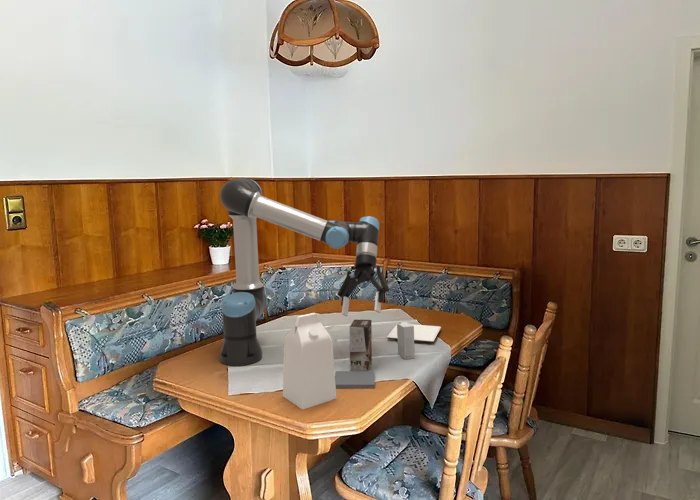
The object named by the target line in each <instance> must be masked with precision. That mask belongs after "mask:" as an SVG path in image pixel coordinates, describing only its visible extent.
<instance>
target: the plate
mask: <svg viewBox="0 0 700 500" xmlns="http://www.w3.org/2000/svg"><path fill="white" fill-rule="evenodd" d="M410 324H411V325H413V326H414V343H415V342H417V343H418V342H419V343H426V344H427V343H434V341H435V340H436V337H437V335H438V334H439V332H440V331H441V329H442V326H438V325H425V324H415V323H414V324H413V323H410ZM386 338H387V339H390V340H395V341H398V339H397V324H395V325H394V327H393V328H392V329H391V331H390V332H389V334H388V335H387V336H386Z"/></svg>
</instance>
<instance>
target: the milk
mask: <svg viewBox="0 0 700 500" xmlns="http://www.w3.org/2000/svg"><path fill="white" fill-rule="evenodd" d="M333 345H334V344H333V340H332V337H331V336H330V334H329V332H328V331H327V329H326V328H325V326H324V325H323V324H322V322H321V320H320V318H319V316H318V314H317V313H316V312H311V313H306V314H301V315H297V317H296V321H295V323H294V326H293V327H292V328H291V329H290V330H289V332H288V333H287V334H286V335H285V337H284V340H283V367H282V368H283V371H282V373H283V374H282V375H283V377H282V378H283V379H282V397H283V398H285V400H287V401H290V403H292V404H294V405H295V406H297V407H298V408H299V409H301V410H305V409H306V410H307V409H308V408H312V407H315V406H318V405H321V404H323V403H327V402H330V401H333V400H336V399H337V388H336V385H335V372H336V371H335V362H334V361H335V359H334V348H333V347H334V346H333Z"/></svg>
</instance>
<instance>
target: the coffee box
mask: <svg viewBox="0 0 700 500" xmlns="http://www.w3.org/2000/svg"><path fill="white" fill-rule="evenodd" d="M372 328H373V327H372V319H353V321H352V322H351V324H350V325H349V371H370V368H371V366H372V364H373V349H372V348H373V347H372V346H373V344H372V343H373V339H372V336H373V335H372V333H373V332H372Z"/></svg>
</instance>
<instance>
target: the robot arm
mask: <svg viewBox="0 0 700 500" xmlns="http://www.w3.org/2000/svg"><path fill="white" fill-rule="evenodd" d="M219 199H220V203H221V204H222V206H223V207H224V208H225V209H226V210H227V212H228V217H230V218H231V219H232V224H233V227H232V228H233V244H234V245H233V246H234V259H235V260H234V262H235V277H236V280H235V283H234V284H233V286H232V293H229V294H227V295H226V296H224V297H223V299H222V301H221V312H222V314H221V315H222V325H223V327H222V328H223V329H222V330H223V342H222V344H221V349H220V354H219V361H220V363H221V364H224V365H225V366H231V367H232V366H235V367H237V366H239V367H240V366H247V365H252V364H254V363H257V362H259V361H261V359H262V358H263V350H262V346H261V345H260V342H259V339H258V337H257V320H258V318H260V316H261V315H263V314H264V312H265V311H266V308H267V305H268V297H267V295H266V293H265V291H264V289H265V288H264V287H265V286H264V283H263V282H261V281H260V269H259V251H258V229H257V227H258V226H257V218H258V219H261V220H263V221H266V222H269V223H270V224H274V225H276V226H279V227H282V228H285V229H287V230H290V231H293V232H296V233H298V234H301V235H303V236H305V237H309V238H311V239H315V240H316V241H319V242H321V243H324V244H327V245H328V246H329V248H332V249H334V250H337V249H343V247H346V245H347V244H348V243H357V244H356V251H355V252H356V253H355V255H356V257H355V261H354V262H355V263H354V266H355V267H354V268H355V270H354V271H351V270H348V271H347V273H346V276H345V278H344V281H343V283H341V284H342V285H341V286H340V288H339V290H338V292H337V296H338V297H340V298H341V302H340V303H341V304H340V306H341V307H342V308H341V315H343V316H345V317H348V316H349V307H350V298H349V297H350V296H351V295H352V293H353V292H354V291H355V289H356V288H357V286H360V284H361V283H363V284H364V283H368V282H371V284H372V285H373V287H375V289H376V290H377V291H376V292H375V299H374V300H375V301H374V311H375V312H376V313H378V314H379V313H381V309H382V303H384V299H385V298H384V297H385V293H386V292H387V293H388V292H390V287H389V285H388V283H387V280H386V278H385V275H384V269H383V268H382V267H381V266H379V265H377V256H378V247H379V246H378V245H379V236H380V221H379V220H378V218H376V217H374V216H369V215H368V216H363V217H360V218H359V222H355V221H354V222H353V221H352V222H351V221H344V220H343V221H342V220H341V221H340V220H338V219H337V220H326V219H323V218H321V217H318V216H315V215H313V214H311V213H308V212H305V211H302V210H300V209H297V208H294V207H292V206H289V205H287V204H284V203H282V202H279V201H276V200H273V199H271V198H269V197H266V196H264V195H263V191H262V188H261V186H260V185H259V184H258V183H257V181H255V180H253V179H251V178H247V177H241V178H240V177H239V178H236V179H231V180H229V181H228V180H227V182H226V183H224V184H223V185H222V187H221V189H220V192H219ZM375 274H376V275H377V278H378V280H379V282H380V284H381V285H380V284H379V282H378V281H377V279H376V278H375V277H374V275H375Z"/></svg>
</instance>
